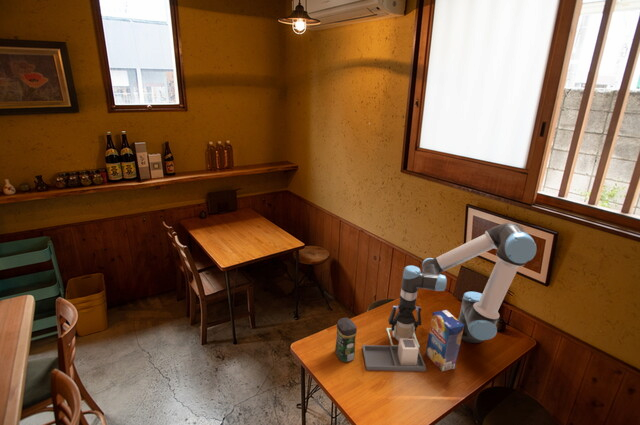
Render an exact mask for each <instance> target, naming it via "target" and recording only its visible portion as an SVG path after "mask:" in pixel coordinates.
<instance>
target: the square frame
mask: <svg viewBox="0 0 640 425" xmlns="http://www.w3.org/2000/svg"><path fill="white" fill-rule="evenodd" d="M386 332H387V335H388V339H389V342H390V346H399V344H394V343H393V340H392V337H391V333H390V332H393V331H392V329H391V327H386ZM413 339H415V341H416V344H417V346H418V348H419V349H420V347H421V346H420V344H419V341H418V339H417V336H416V333H415V332H414V337H413Z"/></svg>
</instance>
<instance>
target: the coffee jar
mask: <svg viewBox="0 0 640 425" xmlns="http://www.w3.org/2000/svg"><path fill="white" fill-rule="evenodd" d="M357 329H358V328H357V325H356V324H355V323H354V321H353V320H352V319H351V318H348V317H343V318H339V319H338V320H337V322H336V337H335V338H336V339H335V348H334V352H335V354H336V356H337V358H338V359H339V361H341V362H344V363H346V362H347V363H348V362H351V361H353V360H355V355H356V350H355V349H356V336H357V332H358V331H357Z"/></svg>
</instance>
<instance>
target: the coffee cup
mask: <svg viewBox="0 0 640 425" xmlns="http://www.w3.org/2000/svg"><path fill="white" fill-rule="evenodd" d="M396 315H397V313H395V316H396ZM396 317H397V316H396ZM415 320H416V318H415V319H413V317H411V314H403V316H400V317H399V318H397V323H396V333H395V337H394V338H395V339H396V340H397V341H398V342H399V339H400V338H404V339H411V333H412V329H413V325H414V324H413V323H414V321H415Z"/></svg>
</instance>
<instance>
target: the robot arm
mask: <svg viewBox="0 0 640 425" xmlns="http://www.w3.org/2000/svg"><path fill="white" fill-rule="evenodd" d="M493 249H495V250H496V253H495V255H496V258H497V260H496V262H495V264H494V266H493V269H492V271H491V273H490V276H489V278H488V280H487V282H486V285H485V287H484V290H483V292H482V293H481V292H477V291H466V292H464V293H463V295H462V296H463V297H462V300H461V306H460V312H459V316H458V317H457V318H456V319H457V320H459V321H460V322H461V323H462V324H463V325H464V329H463V333H462V338H461V341H464V342H467V343H471V344H472V343H473V344H478V343H479V344H480V343H482V342H483V341H487V340H491V339H493V338H495V337H496V335H497V332H498V327H497V322H498V321H499V318H500V313H499V309H500V307H501V305H502V303H503V301H504V299H505V297H506V295H507V293H508V291H509V288H510V286H511V285H512V282H513V280H514V278H515V277H516V274H517V272H518V270H519V268H521V267H524V266H525V265H526V263H528V262H530V261H532V260H533V259H534V257H535V256H536V254H537V243H536V242H535V240H534V238H533V237H532V236H531V235H530V234H529V233H528V232H527V231H526V230H525V229H524V227H522V226H521V225H520V224H518V223H515V222H506V223H501V224H498V225H496V226H493V227H491V228H489V229H487V230H485V232H484V234H482V235H480V236H478V237H475V238H473V239H471V240H469V241H467V242H465V243H463V244H462V245H459V246H457V247H455V248H453V249H451V250H449V251H447V252H445V253H442V254H440V255H439V256H437V257H435V258H432V257H428V258H425V259H423V261H422V264H421V269H420V267H418V266H416V265H407V266H405V267H403V273H402V279H401V287H400V288H401V289H400V295H399V304H398V305H394V304H393V305H392V309H391V312H390V314H389V318H388V320H387V322H388V324H389V325H390V328H391V329H392V331H391V332H392V337H393V338H395V333H396V323H397V318H399V317H400V316H403V314H411V317H413V319H415V321H414V323H413V324H414V325H413V329H412V333H411V336H410V338H411V339H414V333H415V332H417V328H419V326H421V325H422V316H421V312H422V307H421V306H420V305H417V304H416V302H417V298H418V291H419V290H418V289H424V290H429V291H435V292H438V291H439V292H444V291H446V289H447V283H448V282H447V281H448V280H447V277H446V275H445V274H441V273H444V272H446V271H447V270H450V269H452V268H454V267H456V266H458V265H460V264H463V263H464V262H467V261H469V260H471V259H473V258H476V257H478V256H481V255H482V254H485V253H487V252H489V251H491V250H493ZM421 270H422V271H421ZM415 310H416V318H417V321H416V318H415V316H414V313H413V312H414V311H415ZM396 314H397V315H396ZM396 316H397V317H396Z"/></svg>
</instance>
